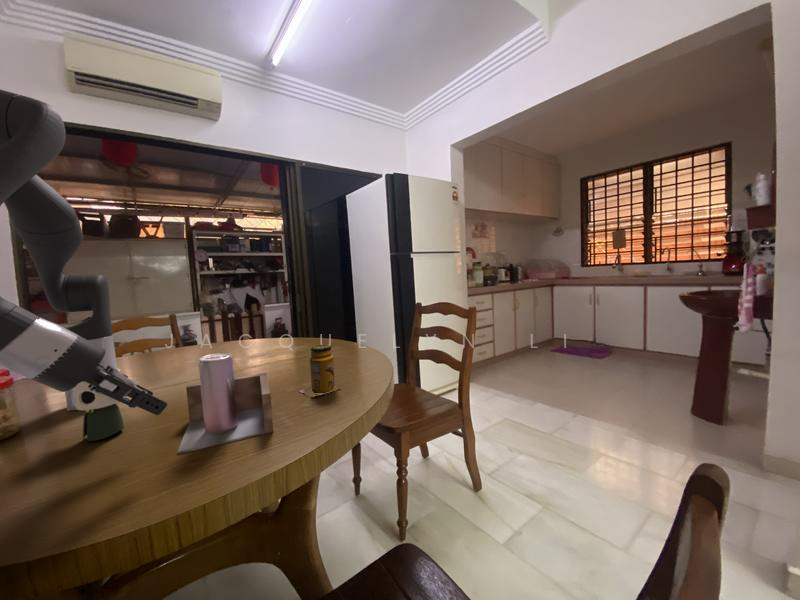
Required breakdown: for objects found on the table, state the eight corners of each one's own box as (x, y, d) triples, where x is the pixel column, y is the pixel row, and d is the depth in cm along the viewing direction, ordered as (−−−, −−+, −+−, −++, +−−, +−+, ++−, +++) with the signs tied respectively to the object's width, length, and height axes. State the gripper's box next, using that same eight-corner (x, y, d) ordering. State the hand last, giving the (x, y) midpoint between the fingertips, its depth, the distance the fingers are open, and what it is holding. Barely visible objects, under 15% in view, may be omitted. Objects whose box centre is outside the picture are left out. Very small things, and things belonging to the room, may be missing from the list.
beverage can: (214, 422, 68) (208, 353, 67) (243, 420, 69) (237, 352, 67) (199, 436, 62) (191, 361, 61) (230, 434, 63) (223, 359, 61)
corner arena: (177, 454, 57) (172, 411, 56) (190, 420, 71) (187, 385, 70) (273, 431, 64) (270, 393, 63) (268, 405, 77) (266, 372, 77)
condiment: (341, 389, 86) (338, 345, 85) (312, 399, 80) (309, 352, 79) (326, 383, 91) (324, 342, 90) (299, 392, 85) (296, 348, 84)
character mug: (64, 441, 63) (56, 377, 62) (106, 424, 70) (99, 366, 69) (102, 448, 60) (93, 381, 59) (142, 430, 67) (135, 369, 66)
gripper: (81, 338, 44) (185, 392, 54) (69, 329, 53) (160, 377, 63) (28, 387, 40) (150, 436, 50) (25, 369, 50) (128, 413, 59)
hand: (155, 403), depth 57 cm, fingers open, 8 cm apart
